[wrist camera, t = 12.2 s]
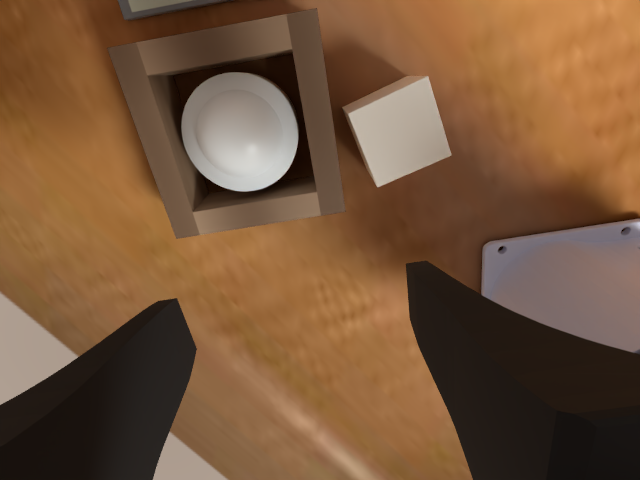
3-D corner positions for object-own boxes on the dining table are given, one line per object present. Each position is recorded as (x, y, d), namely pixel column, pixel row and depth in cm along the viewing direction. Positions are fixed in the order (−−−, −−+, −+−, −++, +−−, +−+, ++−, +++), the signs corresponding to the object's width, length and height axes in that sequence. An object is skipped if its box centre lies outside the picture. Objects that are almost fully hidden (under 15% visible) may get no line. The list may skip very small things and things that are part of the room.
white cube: (407, 75, 18) (428, 75, 15) (428, 141, 19) (451, 155, 16) (341, 107, 18) (347, 113, 15) (366, 169, 20) (377, 187, 16)
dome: (288, 63, 17) (282, 60, 14) (307, 169, 19) (306, 191, 16) (183, 82, 18) (150, 84, 14) (214, 185, 20) (192, 209, 16)
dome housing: (316, 19, 17) (316, 8, 14) (341, 193, 20) (345, 211, 17) (139, 52, 17) (106, 47, 14) (194, 216, 20) (176, 238, 18)
